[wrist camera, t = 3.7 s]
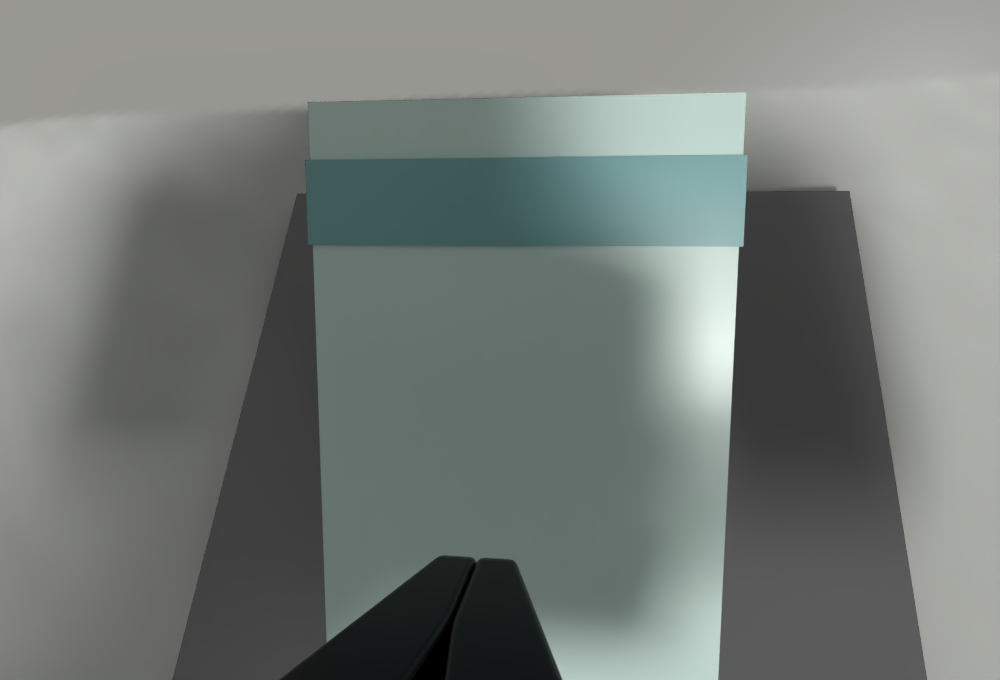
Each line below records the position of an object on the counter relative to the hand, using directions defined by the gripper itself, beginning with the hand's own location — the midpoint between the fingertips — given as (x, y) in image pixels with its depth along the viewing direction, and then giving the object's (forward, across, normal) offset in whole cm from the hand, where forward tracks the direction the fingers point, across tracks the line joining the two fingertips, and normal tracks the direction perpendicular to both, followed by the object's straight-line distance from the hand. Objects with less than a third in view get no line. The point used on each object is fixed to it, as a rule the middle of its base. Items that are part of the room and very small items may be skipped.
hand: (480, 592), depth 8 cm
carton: (+3, 0, +5) cm, 6 cm away
